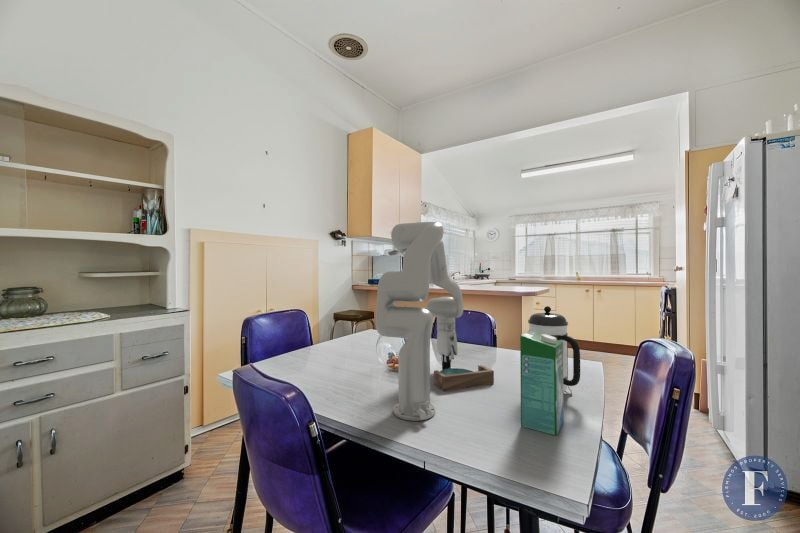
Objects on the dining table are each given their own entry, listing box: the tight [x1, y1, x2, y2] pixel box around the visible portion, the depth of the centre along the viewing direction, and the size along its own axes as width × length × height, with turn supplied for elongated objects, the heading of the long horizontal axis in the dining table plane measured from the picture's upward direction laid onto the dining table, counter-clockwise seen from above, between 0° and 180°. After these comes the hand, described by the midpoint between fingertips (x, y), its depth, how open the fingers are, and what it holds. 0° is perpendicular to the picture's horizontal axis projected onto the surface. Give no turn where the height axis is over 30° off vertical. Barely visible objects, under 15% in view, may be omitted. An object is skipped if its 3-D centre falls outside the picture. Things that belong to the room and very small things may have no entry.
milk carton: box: [519, 330, 565, 436], centre depth 92 cm, size 9×9×25 cm
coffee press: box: [527, 306, 581, 396], centre depth 115 cm, size 17×16×30 cm
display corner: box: [433, 364, 495, 392], centre depth 124 cm, size 8×21×5 cm, turn 111°
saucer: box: [439, 367, 474, 375], centre depth 129 cm, size 15×15×3 cm
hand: (446, 370), depth 137 cm, fingers closed
